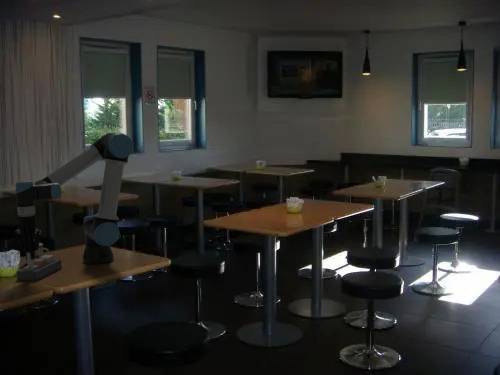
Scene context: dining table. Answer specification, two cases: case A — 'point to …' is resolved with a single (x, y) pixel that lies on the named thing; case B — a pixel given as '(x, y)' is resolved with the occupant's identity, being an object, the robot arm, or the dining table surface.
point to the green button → (31, 268)
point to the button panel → (39, 271)
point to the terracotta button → (40, 262)
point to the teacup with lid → (39, 252)
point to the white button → (48, 258)
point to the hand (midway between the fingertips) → (30, 266)
